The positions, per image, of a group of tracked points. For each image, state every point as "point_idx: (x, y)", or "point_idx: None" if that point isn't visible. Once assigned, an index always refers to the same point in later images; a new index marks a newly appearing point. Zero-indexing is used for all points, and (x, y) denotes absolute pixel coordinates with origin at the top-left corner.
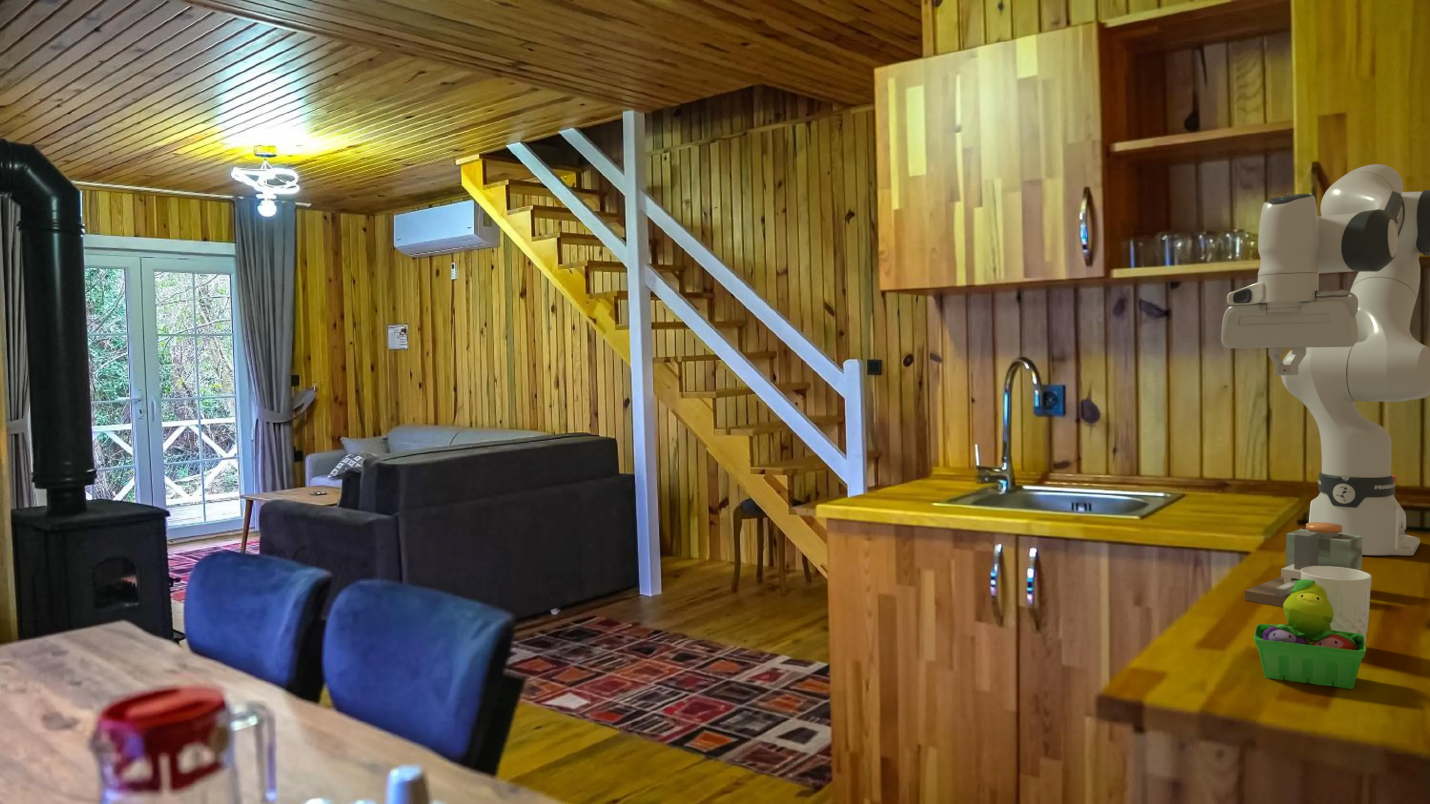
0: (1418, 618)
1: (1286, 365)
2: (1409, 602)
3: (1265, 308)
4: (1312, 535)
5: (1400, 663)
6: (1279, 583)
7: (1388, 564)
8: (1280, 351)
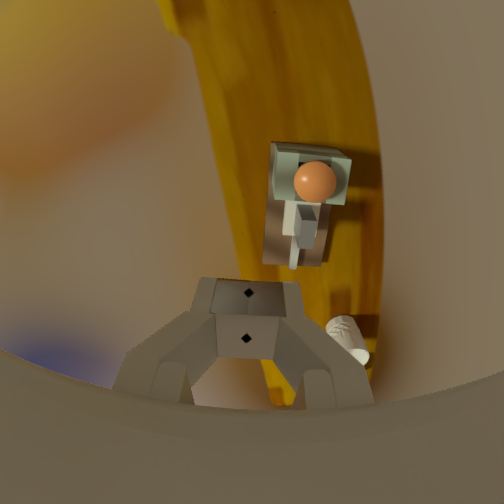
0: (383, 230)
1: (254, 355)
2: (376, 179)
3: None
4: (314, 238)
5: (370, 328)
6: (277, 219)
7: (324, 11)
8: (187, 400)
